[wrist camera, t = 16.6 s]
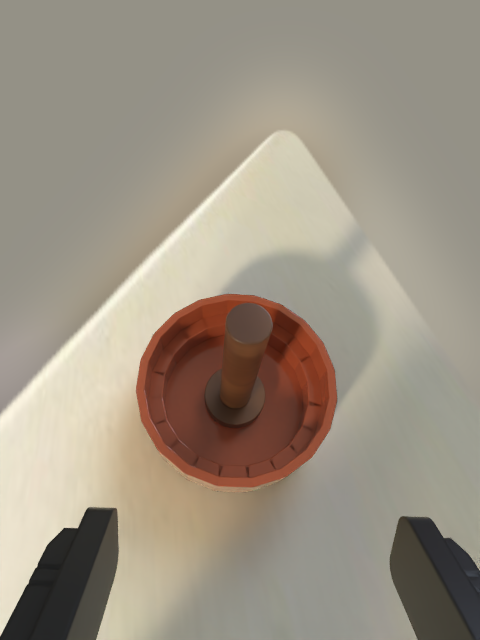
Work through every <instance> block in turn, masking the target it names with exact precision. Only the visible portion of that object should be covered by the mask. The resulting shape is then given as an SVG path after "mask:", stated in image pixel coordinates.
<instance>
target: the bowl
mask: <svg viewBox="0 0 480 640" xmlns="http://www.w3.org/2000/svg"><path fill="white" fill-rule="evenodd" d="M243 303H254V304H257V305H260V306H262V307H263V308H264V309H266V311H267V312H268V313H269V314H270V316H271V318H272V322H273V328H272V332H271V335H270V338H269V341H268V344H267V347H266V350H265V353H264V356H263V360H262V363H261V366H260V369H259V372H258V375H257V376H258V377H259V378H260V380H261V381H262V383H263V385H264V388H265V403H264V406H263V409H262V411H261V413H260V415H259V416H258V417H257V418H256V420H255V421H253V422H252V423H251V424H249V425H247V426H244V427H241V428H229V427H225V426H222V425H220V424H219V423H217V422H216V421H215V420H214V419H213V418H212V417H211V416H210V415H209V413H208V411H207V409H206V405H205V388H206V385H207V382H208V381H209V379H210V378H211V376H212V375H213V374H214V373H215V372H217V371H218V370H220V369H222V362H223V349H224V337H225V324H226V318H227V315H228V313H229V312H230V311H231V309H233V308H234V307H235V306H237V305H239V304H243ZM136 394H137V399H138V405H139V410H140V416H141V421H142V423H143V425H144V427H145V429H146V430H147V432H148V434H149V436H150V437H151V439H152V441H153V443H154V444H155V446H156V448H157V450H158V451H159V453H160V454H161V455H162V457H163V458H164V459H165V461H166V462H167V463H169V464H170V465H171V466H172V467H173V468H174V469H176V470H177V471H178V472H179V473H180V474H181V475H182V476H184V477H185V478H186V479H187V480H189V481H191V482H194V483H196V484H199V485H202V486H204V487H207V488H209V489H212V490H214V491H220V492H250V491H253V490H256V489H259V488H262V487H266V486H269V485H272V484H275V483H277V482H278V481H280V480H282V479H284V478H285V477H287V476H288V475H289V474H291V473H292V472H293V471H295V470H296V469H297V468H299V467H300V466H301V465H303V464H304V463H305V462H306V461H308V460H309V459H310V458H312V456H313V455H314V454H315V452H316V451H317V449H318V448H319V446H320V445H321V443H322V441H323V440H324V438H325V437H326V435H327V434H328V432H329V431H330V428H331V424H332V420H333V416H334V412H335V407H336V403H337V390H336V379H335V370H334V367H333V365H332V362H331V360H330V358H329V355H328V353H327V350H326V348H325V346H324V343H323V342H322V341H321V339H320V338H319V337H318V336H317V335H316V333H315V332H314V331H313V330H312V328H311V327H310V326H309V325H308V324H307V322H306V321H305V320H303V319H302V318H300V317H299V316H297V315H296V314H295V313H293V312H292V311H290V310H289V309H287V308H286V307H284V306H283V305H281V304H278V303H275V302H272V301H269V300H267V299H264V298H261V297H258V296H254V295H237V294H224V295H220V296H215V297H210V298H206V299H201V300H198V301H196V302H195V303H193V304H191V305H189V306H187V307H185V308H183V309H182V310H180V311H178V312H176V313H175V314H173V315H172V316H171V317H170V318H169V319H168V320H167V321H166V322H165V323H164V324H163V325H162V326H161V327H160V328H159V329H158V330H157V331H156V332H155V333H154V335H153V337H152V339H151V340H150V342H149V344H148V346H147V348H146V350H145V352H144V354H143V356H142V358H141V361H140V367H139V373H138V380H137V386H136Z"/></svg>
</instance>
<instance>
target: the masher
mask: <svg viewBox="0 0 480 640" xmlns="http://www.w3.org/2000/svg"><path fill="white" fill-rule="evenodd" d="M272 328H273V322H272V318H271V316H270V314H269V313H268V312H267V311H266V309H264V308H263V307H262V306H260V305H257V304H254V303H243V304H239V305H237V306H235V307H234V308H233V309H231V311H230V312H229V313H228V315H227V318H226V324H225V337H224V349H223V362H222V369H220V370H218V371H217V372H215V373H214V374H213V375H212V376H211V378H210V379H209V381H208V382H207V385H206V388H205V405H206V409H207V411H208V413H209V415H210V416H211V417H212V418H213V419H214V420H215V421H216V422H217V423H219V424H220V425H222V426H225V427H229V428H241V427H244V426H247V425H249V424H251V423H252V422H253V421H255V420H256V418H257V417H258V416H259V415H260V413H261V411H262V409H263V406H264V403H265V388H264V385H263V383H262V381H261V380H260V378H259V377H258V376H257V375H258V372H259V369H260V366H261V363H262V360H263V356H264V353H265V350H266V347H267V344H268V341H269V338H270V335H271V332H272Z"/></svg>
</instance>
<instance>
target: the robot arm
mask: <svg viewBox="0 0 480 640" xmlns="http://www.w3.org/2000/svg"><path fill="white" fill-rule="evenodd" d="M118 552H119V548H118V516H117V509H116V508H96V507H89V508H88V509H87V510H86V512H85V514H84V516H83V518H82V520H81V523H80V525H79V527H78V528H64V529H63V530H62V531H61V532H60V533H59V534H58V535H57V536H56V537H55V538H54V539H53V540H52V541H51V542H50V543H49V544H48V545H47V547H46V549H45V551H44V553H43V555H42V557H41V559H40V561H39V563H38V566H37V568H35V570H34V572H33V574H32V576H31V578H30V580H29V584H28V585H27V586H26V588H25V590H24V592H23V594H22V596H21V598H20V600H19V601H18V603H17V605H16V607H15V609H14V611H13V613H12V615H11V617H10V619H9V621H8V623H7V625H6V627H5V629H4V631H3V633H2V634H1V636H0V640H96V638H97V635H98V631H99V628H100V625H101V621H102V618H103V614H104V611H105V608H106V604H107V601H108V598H109V594H110V591H111V587H112V584H113V581H114V577H115V573H116V569H117V562H118ZM390 571H391V576H392V579H393V582H394V585H395V587H396V589H397V592H398V594H399V596H400V599H401V601H402V603H403V606H404V608H405V610H406V613H407V615H408V617H409V620H410V622H411V624H412V627H413V629H414V631H415V634H416V636H417V638H418V640H480V571H479V569H478V568H477V566H476V565H475V563H474V562H473V560H472V559H471V557H470V556H469V554H468V553H466V552H465V551H464V550H463V549H462V548H461V547H460V546H459V545H458V544H457V543H455V542H454V541H453V540H452V539H451V538H443V536H442V535H441V533H440V531H439V530H438V528H437V527H436V525H435V524H434V522H433V521H432V520H431V519H430V518H428V517H407V516H402V517H401V518H400V519H399V521H398V525H397V529H396V534H395V538H394V542H393V546H392V550H391V555H390Z"/></svg>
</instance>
